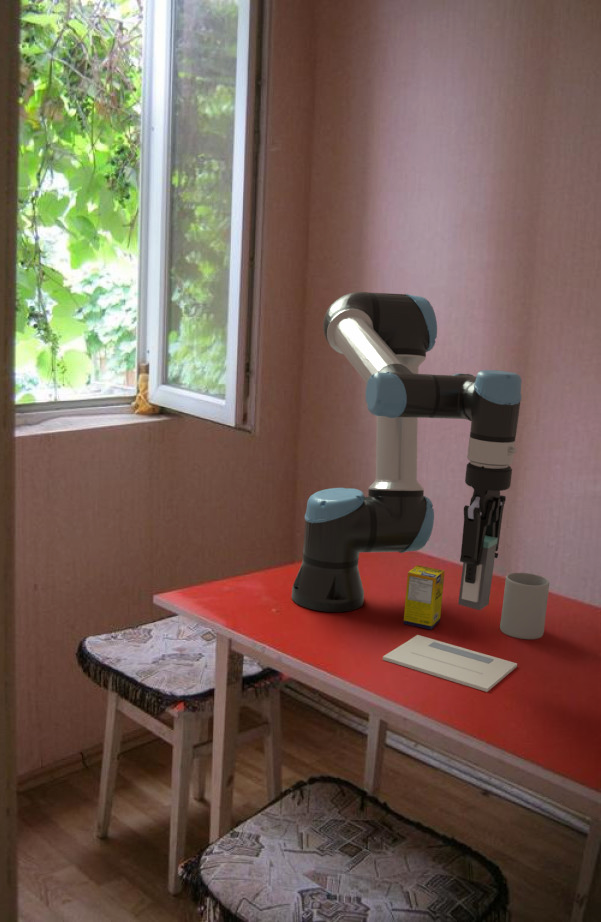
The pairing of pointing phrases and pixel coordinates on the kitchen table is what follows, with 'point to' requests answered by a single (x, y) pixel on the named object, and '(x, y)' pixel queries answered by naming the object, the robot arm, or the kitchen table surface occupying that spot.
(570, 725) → the kitchen table surface
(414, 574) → the supplement box
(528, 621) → the mug
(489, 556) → the grey teal-topped block
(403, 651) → the paper pad
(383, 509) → the robot arm
